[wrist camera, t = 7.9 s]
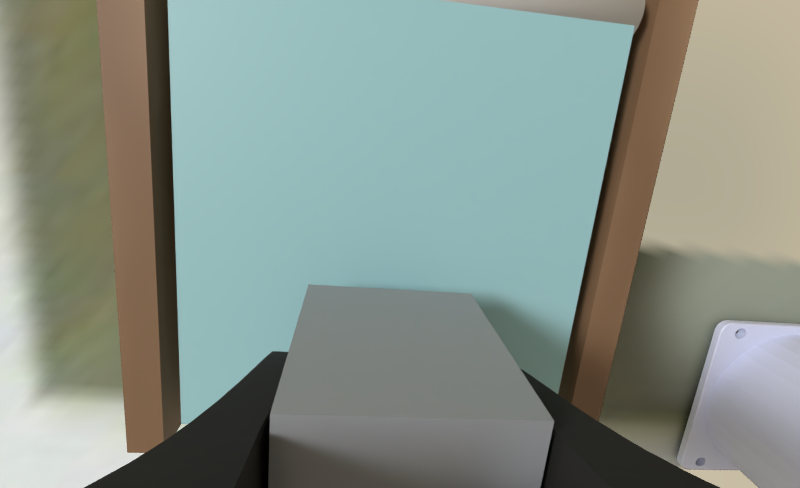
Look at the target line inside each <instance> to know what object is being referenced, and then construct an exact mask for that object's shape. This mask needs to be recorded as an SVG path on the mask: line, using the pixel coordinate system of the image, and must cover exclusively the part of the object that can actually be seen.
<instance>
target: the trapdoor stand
mask: <svg viewBox="0 0 800 488" xmlns="http://www.w3.org/2000/svg"><path fill="white" fill-rule="evenodd" d="M698 1H699V0H645V9H644V13H643V17H642V20H641V22H640V24H639V26H638V28H637V30H636V32H635V33H634V34H633V37H632V42H631V47H630V51H629V56H628V61H627V66H626V71H625V75H624V80H623V85H622V90H621V95H620V99H619V104H618V109H617V114H616V119H615V123H614V128H613V133H612V138H611V143H610V147H609V152H608V157H607V162H606V167H605V171H604V176H603V181H602V186H601V191H600V195H599V200H598V205H597V210H596V215H595V219H594V224H593V229H592V234H591V239H590V243H589V248H588V253H587V258H586V263H585V267H584V272H583V277H582V282H581V287H580V291H579V296H578V301H577V306H576V311H575V315H574V320H573V325H572V330H571V335H570V339H569V344H568V349H567V354H566V359H565V363H564V368H563V373H562V378H561V383H560V387H559V392H558V395H560V396H561V397H563V398H564V399H565V400H567V401H568V402H570V403H571V404H573V405H574V406H576V407H577V408H579V409H580V410H581V411H583V412H584V413H586V414H588V415H589V416H591V417H592V418H594V419H595V420H597V421H599V417H600V412H601V408H602V404H603V400H604V396H605V391H606V387H607V383H608V379H609V375H610V370H611V366H612V362H613V358H614V354H615V349H616V345H617V341H618V337H619V333H620V328H621V324H622V320H623V316H624V312H625V307H626V303H627V299H628V295H629V291H630V286H631V282H632V278H633V274H634V270H635V265H636V261H637V257H638V253H639V249H640V244H641V240H642V236H643V232H644V228H645V223H646V219H647V215H648V211H649V206H650V202H651V198H652V194H653V190H654V186H655V181H656V177H657V173H658V169H659V164H660V160H661V155H662V152H663V148H664V143H665V139H666V135H667V131H668V126H669V123H670V118H671V114H672V110H673V106H674V102H675V97H676V93H677V89H678V84H679V80H680V76H681V72H682V68H683V64H684V60H685V55H686V51H687V47H688V43H689V38H690V34H691V30H692V26H693V22H694V18H695V13H696V9H697V5H698ZM97 15H98V30H99V44H100V59H101V74H102V88H103V103H104V117H105V132H106V147H107V161H108V176H109V190H110V205H111V220H112V234H113V249H114V263H115V278H116V293H117V307H118V322H119V336H120V351H121V366H122V380H123V395H124V409H125V424H126V439H127V452H128V453H146V452H148V451H149V450H151V449H152V448H154V447H155V446H157V445H159V444H160V443H162V442H163V441H165V440H166V439H168V438H169V437H171V436H172V435H174V434H175V433H176V432H177V430H178V428H179V426H180V425H181V401H180V370H179V339H178V308H177V277H176V246H175V215H174V184H173V153H172V122H171V91H170V60H169V29H168V0H97Z"/></svg>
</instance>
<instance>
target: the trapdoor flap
mask: <svg viewBox="0 0 800 488" xmlns="http://www.w3.org/2000/svg"><path fill="white" fill-rule="evenodd" d="M644 9H645V0H168V29H169V60H170V91H171V122H172V153H173V184H174V215H175V246H176V277H177V308H178V339H179V370H180V401H181V424H189V423H190V422H191V421H193V420H194V419H195V418H196V417H198V416H199V415H200V414H202V413H203V412H204V411H205V410H207V409H208V408H209V407H211V406H212V405H213V404H214V403H215V402H217V401H218V400H219V399H220V398H221V397H222V396H224V395H225V394H226V393H227V392H228V391H229V390H230V389H232V388H233V387H234V386H235V385H236V384H237V383H238V382H239V381H241V380H242V379H243V378H244V377H245V376H246V375H247V374H248V373H249V372H250V371H251V370H252V369H253V368H254V367H256V366H257V365H258V364H259V363H260V362H261V361H262V360H263V359H264V358H265V357H266V356H267V355H269V354H270V353H271V352H272V351H281V352H289V348H290V345H291V342H292V338H293V335H294V331H295V328H296V325H297V321H298V318H299V315H300V311H301V308H302V304H303V301H304V298H305V294H306V291H307V288H308V284H312V285H329V286H347V287H364V288H382V289H400V290H417V291H435V292H452V293H470V294H472V296H473V298H474V299H475V301H476V302H477V304H478V305H479V307H480V308H481V310H482V311H483V313H484V314H485V316H486V317H487V319H488V320H489V322H490V323H491V325H492V327H493V328H494V330H495V331H496V333H497V334H498V336H499V337H500V339H501V340H502V342H503V343H504V345H505V346H506V348H507V349H508V351H509V353H510V354H511V356H512V357H513V359H514V360H515V362H516V363H517V365H518V366H519V368H521V369H522V370H524V371H525V372H527V373H528V374H530V375H531V376H533V377H534V378H535V379H537V380H538V381H540V382H541V383H543V384H544V385H545V386H547V387H548V388H550V389H551V390H553V391H554V392H555V393H557V394H558V392H559V387H560V383H561V378H562V373H563V368H564V363H565V359H566V354H567V349H568V344H569V339H570V335H571V330H572V325H573V320H574V315H575V311H576V306H577V301H578V296H579V291H580V287H581V282H582V277H583V272H584V267H585V263H586V258H587V253H588V248H589V243H590V239H591V234H592V229H593V224H594V219H595V215H596V210H597V205H598V200H599V195H600V191H601V186H602V181H603V176H604V171H605V167H606V162H607V157H608V152H609V147H610V143H611V138H612V133H613V128H614V123H615V119H616V114H617V109H618V104H619V99H620V95H621V90H622V85H623V80H624V75H625V71H626V66H627V61H628V56H629V51H630V47H631V42H632V37H633V34H634V33H635V32H636V30H637V28H638V26H639V24H640V22H641V20H642V17H643V13H644Z"/></svg>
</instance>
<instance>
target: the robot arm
mask: <svg viewBox="0 0 800 488" xmlns="http://www.w3.org/2000/svg"><path fill="white" fill-rule="evenodd" d="M737 330H739V331H738V333H736V331H737ZM735 333H736V334H735ZM287 355H288V352H281V351H272V352H271V353H270V354H269V355H267V356H266V357H265V358H264V359H263V360H262V361H261V362H260V363H259V364H258V365H257V366H256V367H254V368H253V369H252V370H251V371H250V372H249V373H248V374H247V375H246V376H245V377H244V378H243V379H242V380H241V381H239V382H238V383H237V384H236V385H235V386H234V387H233V388H232V389H230V390H229V391H228V392H227V393H226V394H225V395H224V396H222V397H221V398H220V399H219V400H218V401H217V402H215V403H214V404H213V405H212V406H211V407H209V408H208V409H207V410H205V411H204V412H203V413H202V414H200V415H199V416H198V417H196V418H195V419H194V420H193V421H191V422H190V423H189V424H188V425H186V426H185V427H183V428H182V429H181V430H179V431H178V432H176V433H175V434H174V435H172V436H171V437H169V438H168V439H166V440H165V441H163V442H162V443H160V444H159V445H157V446H155V447H154V448H152V449H151V450H149V451H148V452H146V453H144V454H143V455H141V456H140V457H138V458H136V459H135V460H133V461H132V462H130V463H128V464H127V465H125V466H123V467H121V468H119V469H117V470H116V471H114V472H112V473H110V474H108V475H106V476H105V477H103V478H101V479H99V480H97V481H96V482H94V483H92V484H90V485H88V486H86V487H85V488H268V474H269V433H270V412H271V409H272V405H273V402H274V399H275V395H276V392H277V389H278V385H279V382H280V379H281V375H282V372H283V368H284V365H285V362H286V358H287ZM520 369H521V368H520ZM521 371H522V372H523V374H524V375H525V377H526V379H527V380H528V382H529V383H530V385H531V386H532V388H533V389H534V391H535V392H536V394H537V395H538V397H539V398H540V400H541V401H542V403H543V405H544V406H545V408H546V409H547V411H548V412H549V414H550V415H551V417H552V418H553V420H554V425H553V430H552V435H551V440H550V444H549V449H548V454H547V459H546V464H545V468H544V473H543V478H542V483H541V487H540V488H720V487H717V486H715V485H713V484H711V483H709V482H706V481H704V480H702V479H700V478H698V477H696V476H694V475H692V474H690V473H688V472H686V471H684V470H682V469H680V468H678V467H676V466H674V465H673V464H671V463H669V462H667V461H665V460H663V459H661V458H660V457H658V456H656V455H654V454H652V453H650V452H648V451H646V450H645V449H643V448H641V447H639V446H638V445H636V444H634V443H632V442H631V441H629V440H627V439H626V438H624V437H622V436H621V435H619V434H618V433H616V432H614V431H613V430H611V429H609V428H608V427H606V426H605V425H603V424H601V423H600V422H598V421H597V420H595V419H594V418H592V417H591V416H589V415H588V414H586V413H584V412H583V411H581V410H580V409H579V408H577V407H576V406H574V405H573V404H571V403H570V402H568V401H567V400H565V399H564V398H563V397H561V396H560V395H558V394H557V393H555V392H554V391H553V390H551V389H550V388H548V387H547V386H545V385H544V384H543V383H541V382H540V381H538V380H537V379H535V378H534V377H533V376H531V375H530V374H528V373H527V372H525V371H524V370H522V369H521ZM677 461H678V463H679V464H680V465H681V466H682V467H683V468H684V469H694V470H696V469H697V470H740V471H741V472H742V473H743V474H744V475H745V476H747V477H748V478H749V479H750V480H751V481H752V482H753V483H754V484H755V485H756V486H758V487H759V488H800V324H793V323H774V322H756V321H737V320H724V321H722V322H720V323H719V324H718V325H717V326H716V328H715V331H714V334H713V338H712V341H711V344H710V348H709V351H708V355H707V358H706V361H705V365H704V368H703V371H702V375H701V378H700V382H699V385H698V388H697V392H696V395H695V398H694V402H693V405H692V409H691V412H690V415H689V419H688V422H687V425H686V429H685V432H684V436H683V439H682V442H681V446H680V449H679V452H678V456H677Z"/></svg>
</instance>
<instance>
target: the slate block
mask: <svg viewBox="0 0 800 488" xmlns="http://www.w3.org/2000/svg"><path fill="white" fill-rule="evenodd" d="M553 425H554V420H553V418H552V417H551V415H550V414H549V412H548V411H547V409H546V408H545V406H544V405H543V403H542V401H541V400H540V398H539V397H538V395H537V394H536V392H535V391H534V389H533V388H532V386H531V385H530V383H529V382H528V380H527V379H526V377H525V375H524V374H523V372H522V371H521V369H520V368H519V366H518V365H517V363H516V362H515V360H514V359H513V357H512V356H511V354H510V353H509V351H508V349H507V348H506V346H505V345H504V343H503V342H502V340H501V339H500V337H499V336H498V334H497V333H496V331H495V330H494V328H493V327H492V325H491V323H490V322H489V320H488V319H487V317H486V316H485V314H484V313H483V311H482V310H481V308H480V307H479V305H478V304H477V302H476V301H475V299H474V298H473V296H472V294H470V293H452V292H435V291H417V290H400V289H382V288H364V287H347V286H329V285H312V284H308V288H307V291H306V294H305V298H304V301H303V304H302V308H301V311H300V315H299V318H298V321H297V325H296V328H295V331H294V335H293V338H292V342H291V345H290V348H289V352H288V355H287V358H286V362H285V365H284V368H283V372H282V375H281V379H280V382H279V385H278V389H277V392H276V395H275V399H274V402H273V405H272V409H271V412H270V433H269V474H268V488H540V487H541V483H542V478H543V473H544V468H545V464H546V459H547V454H548V449H549V444H550V440H551V435H552V430H553Z"/></svg>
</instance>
